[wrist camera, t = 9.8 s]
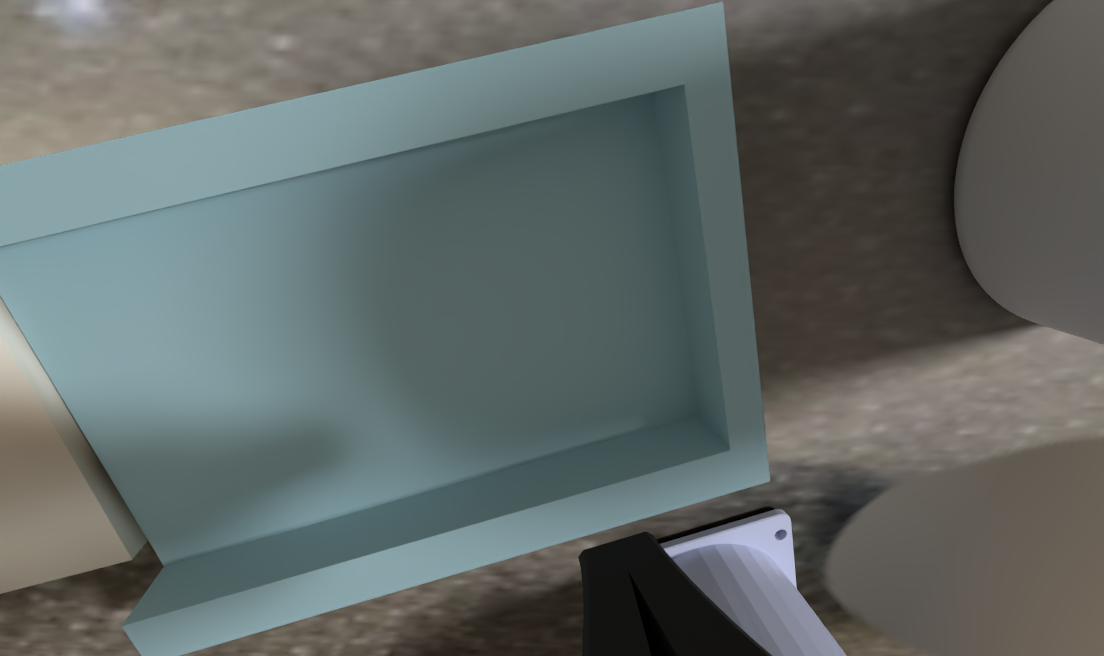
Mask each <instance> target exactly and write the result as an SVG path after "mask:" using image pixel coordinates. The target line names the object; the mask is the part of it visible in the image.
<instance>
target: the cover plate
mask: <svg viewBox="0 0 1104 656" xmlns="http://www.w3.org/2000/svg"><path fill="white" fill-rule="evenodd" d="M147 541H148V539H147V538H146V536H145V534H144V533H143V531H142V529H141V528H140V526H139V524H138V523H137V521H136V519H135V518H134V516H133V514H132V513H131V511H130V509H129V508H128V506H127V504H126V503H125V501H124V499H123V498H122V496H121V494H120V493H119V491H118V490H117V488H116V486H115V485H114V483H113V481H112V480H111V478H110V476H109V475H108V473H107V471H106V470H105V468H104V466H103V465H102V463H101V461H100V460H99V458H98V456H97V455H96V453H95V451H94V450H93V448H92V446H91V445H90V443H89V441H88V440H87V438H86V437H85V435H84V433H83V432H82V430H81V428H80V427H79V425H78V423H77V422H76V420H75V418H74V417H73V415H72V413H71V412H70V410H69V408H68V407H67V405H66V403H65V402H64V400H63V398H62V397H61V395H60V393H59V392H58V390H57V388H56V387H55V385H54V384H53V382H52V380H51V379H50V377H49V375H48V374H47V372H46V370H45V369H44V367H43V365H42V364H41V362H40V360H39V359H38V357H37V355H36V354H35V352H34V350H33V349H32V347H31V345H30V344H29V342H28V340H27V339H26V337H25V335H24V334H23V332H22V331H21V329H20V327H19V326H18V324H17V322H16V321H15V319H14V317H13V316H12V314H11V312H10V311H9V309H8V307H7V306H6V304H5V302H4V301H3V299H2V297H1V296H0V594H2V593H5V592H9V591H13V590H17V589H21V588H25V587H29V586H33V585H37V584H41V583H44V582H48V581H52V580H56V579H60V578H64V577H68V576H72V575H76V574H79V573H83V572H87V571H91V570H95V569H99V568H103V567H107V566H111V565H115V564H118V563H122V562H126V561H130V560H133V559H134V557H135V556H136V555H137V554H138V552H139V551H140V550H141V549H142V547H143V546H144V545H145V544H146V542H147Z"/></svg>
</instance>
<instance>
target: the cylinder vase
mask: <svg viewBox="0 0 1104 656" xmlns="http://www.w3.org/2000/svg"><path fill="white" fill-rule="evenodd" d="M954 213H955V223H956V230H957V235H958V239H959V243H960V247H961V250H962V253H963V255H964V258H965V260H966V262H967V265H968V267H969V269H970V270H971V272H972V274H973V276H974V277H975V279H976V280H977V282H978V283H979V284H980V286H981V287H982V288H983V289H984V291H985V292H986V293H987V294H988V295H989V296H990V297H991V298H992V299H993V300H995V301H996V302H997V303H998V304H999V305H1001V306H1002V307H1004V308H1005V309H1007V310H1008V311H1010V312H1011V313H1013V314H1015V315H1017V316H1019V317H1021V318H1023V319H1026V320H1028V321H1031V322H1034V323H1037V324H1040V325H1043V326H1046V327H1050V328H1053V329H1056V330H1059V331H1062V332H1066V333H1069V334H1072V335H1075V336H1078V337H1082V338H1085V339H1088V340H1091V341H1094V342H1098V343H1101V344H1104V0H1053V1H1052V2H1051V3H1049V4H1048V5H1047V6H1046V7H1045V8H1044V9H1043V10H1042V11H1041V12H1040V13H1039V14H1038V15H1037V16H1036V17H1035V18H1034V19H1033V20H1032V21H1031V22H1030V23H1029V25H1028V26H1027V27H1026V28H1025V29H1024V30H1023V31H1022V33H1021V34H1020V35H1019V36H1018V37H1017V39H1016V40H1015V41H1014V42H1013V44H1012V45H1011V46H1010V48H1009V49H1008V50H1007V52H1006V53H1005V55H1004V56H1003V57H1002V59H1001V60H1000V62H999V63H998V65H997V67H996V68H995V70H994V71H993V73H992V75H991V76H990V78H989V80H988V82H987V84H986V85H985V87H984V89H983V91H982V93H981V95H980V97H979V99H978V101H977V104H976V106H975V108H974V110H973V113H972V115H971V118H970V121H969V123H968V126H967V129H966V132H965V135H964V138H963V142H962V146H961V150H960V154H959V158H958V164H957V169H956V177H955V187H954Z"/></svg>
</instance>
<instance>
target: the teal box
mask: <svg viewBox="0 0 1104 656" xmlns="http://www.w3.org/2000/svg"><path fill="white" fill-rule="evenodd" d="M0 296H1V297H2V299H3V301H4V302H5V304H6V306H7V307H8V309H9V311H10V312H11V314H12V316H13V317H14V319H15V321H16V322H17V324H18V326H19V327H20V329H21V331H22V332H23V334H24V335H25V337H26V339H27V340H28V342H29V344H30V345H31V347H32V349H33V350H34V352H35V354H36V355H37V357H38V359H39V360H40V362H41V364H42V365H43V367H44V369H45V370H46V372H47V374H48V375H49V377H50V379H51V380H52V382H53V384H54V385H55V387H56V388H57V390H58V392H59V393H60V395H61V397H62V398H63V400H64V402H65V403H66V405H67V407H68V408H69V410H70V412H71V413H72V415H73V417H74V418H75V420H76V422H77V423H78V425H79V427H80V428H81V430H82V432H83V433H84V435H85V437H86V438H87V440H88V441H89V443H90V445H91V446H92V448H93V450H94V451H95V453H96V455H97V456H98V458H99V460H100V461H101V463H102V465H103V466H104V468H105V470H106V471H107V473H108V475H109V476H110V478H111V480H112V481H113V483H114V485H115V486H116V488H117V490H118V491H119V493H120V494H121V496H122V498H123V499H124V501H125V503H126V504H127V506H128V508H129V509H130V511H131V513H132V514H133V516H134V518H135V519H136V521H137V523H138V524H139V526H140V528H141V529H142V531H143V533H144V534H145V536H146V538H147V539H148V541H149V543H150V544H151V546H152V547H153V549H154V551H155V552H156V554H157V556H158V557H159V559H160V561H161V562H162V564H163V566H164V567H163V568H162V570H161V571H160V573H159V574H158V576H157V577H156V578H155V580H154V581H153V583H152V584H151V585H150V587H149V588H148V590H147V591H146V592H145V594H144V595H143V597H142V598H141V600H140V601H139V602H138V604H137V605H136V607H135V608H134V609H133V611H132V612H131V614H130V615H129V616H128V618H127V619H126V621H125V622H124V624H123V625H122V628H123V629H124V631H125V632H126V634H127V635H128V637H129V638H130V640H131V641H132V643H133V644H134V646H135V647H136V649H137V650H138V652H139V653H140V654H141V656H180V655H183V654H186V653H190V652H193V651H197V650H200V649H203V648H207V647H210V646H213V645H217V644H220V643H224V642H227V641H230V640H234V639H237V638H241V637H244V636H247V635H251V634H254V633H258V632H261V631H264V630H268V629H271V628H274V627H278V626H281V625H285V624H288V623H291V622H295V621H298V620H302V619H305V618H308V617H312V616H315V615H318V614H322V613H325V612H329V611H332V610H335V609H339V608H342V607H346V606H349V605H352V604H356V603H359V602H363V601H366V600H369V599H373V598H376V597H379V596H383V595H386V594H390V593H393V592H396V591H400V590H403V589H407V588H410V587H413V586H417V585H420V584H424V583H427V582H430V581H434V580H437V579H440V578H444V577H447V576H451V575H454V574H457V573H461V572H464V571H468V570H471V569H474V568H478V567H481V566H485V565H488V564H491V563H495V562H498V561H501V560H505V559H508V558H512V557H515V556H518V555H522V554H525V553H529V552H532V551H535V550H539V549H542V548H545V547H549V546H552V545H556V544H559V543H562V542H566V541H569V540H573V539H576V538H579V537H583V536H586V535H590V534H593V533H596V532H600V531H603V530H606V529H610V528H613V527H617V526H620V525H623V524H627V523H630V522H634V521H637V520H640V519H644V518H647V517H651V516H654V515H657V514H661V513H664V512H667V511H671V510H674V509H678V508H681V507H684V506H688V505H691V504H695V503H698V502H701V501H705V500H708V499H712V498H715V497H718V496H722V495H725V494H728V493H732V492H735V491H739V490H742V489H745V488H749V487H752V486H756V485H759V484H762V483H766V482H769V481H770V475H769V465H768V454H767V444H766V434H765V424H764V414H763V403H762V393H761V383H760V373H759V363H758V353H757V342H756V332H755V322H754V312H753V302H752V291H751V281H750V271H749V261H748V251H747V240H746V230H745V220H744V210H743V200H742V190H741V179H740V169H739V159H738V149H737V139H736V128H735V118H734V108H733V98H732V88H731V78H730V67H729V57H728V47H727V37H726V27H725V16H724V6H723V2H719V3H715V4H710V5H706V6H702V7H697V8H693V9H688V10H684V11H680V12H675V13H671V14H666V15H662V16H657V17H653V18H649V19H644V20H640V21H635V22H631V23H627V24H622V25H618V26H613V27H609V28H605V29H600V30H596V31H591V32H587V33H582V34H578V35H574V36H569V37H565V38H560V39H556V40H552V41H547V42H543V43H538V44H534V45H530V46H525V47H521V48H516V49H512V50H507V51H503V52H499V53H494V54H490V55H485V56H481V57H477V58H472V59H468V60H463V61H459V62H455V63H450V64H446V65H441V66H437V67H432V68H428V69H424V70H419V71H415V72H410V73H406V74H402V75H397V76H393V77H388V78H384V79H380V80H375V81H371V82H366V83H362V84H357V85H353V86H349V87H344V88H340V89H335V90H331V91H327V92H322V93H318V94H313V95H309V96H305V97H300V98H296V99H291V100H287V101H282V102H278V103H274V104H269V105H265V106H260V107H256V108H252V109H247V110H243V111H238V112H234V113H230V114H225V115H221V116H216V117H212V118H207V119H203V120H199V121H194V122H190V123H185V124H181V125H177V126H172V127H168V128H163V129H159V130H155V131H150V132H146V133H141V134H137V135H132V136H128V137H124V138H119V139H115V140H110V141H106V142H102V143H97V144H93V145H88V146H84V147H79V148H75V149H71V150H66V151H62V152H57V153H53V154H49V155H44V156H40V157H35V158H31V159H27V160H22V161H18V162H13V163H9V164H4V165H0Z"/></svg>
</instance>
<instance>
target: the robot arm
mask: <svg viewBox="0 0 1104 656" xmlns="http://www.w3.org/2000/svg"><path fill="white" fill-rule="evenodd" d="M779 530H780V531H779ZM777 531H779V532H778V533H776V532H777ZM775 533H776V534H775ZM579 561H580V566H581V572H582V580H583V596H584V627H583V652H582V656H846V654H845V653H844V652H843V650H842V649H841V648H840V646H839V645H838V644H837V642H836V641H835V640H834V638H833V637H832V636H831V634H830V633H829V632H828V630H827V629H826V628H825V626H824V625H823V624H822V622H821V621H820V620H819V618H818V617H817V616H816V614H815V613H814V612H813V610H812V609H811V608H810V606H809V605H808V604H807V602H806V601H805V600H804V598H803V597H802V596H801V594H800V593H799V592H798V590H797V588H796V576H795V564H794V552H793V540H792V529H791V520H790V517H789V516H788V515H787V514H786V513H785V512H784V511H783V510H780V509H775V510H771V511H768V512H765V513H761V514H758V515H755V516H751V517H748V518H745V519H741V520H738V521H735V522H731V523H728V524H725V525H721V526H718V527H715V528H711V529H708V530H705V531H701V532H698V533H695V534H691V535H688V536H685V537H681V538H678V539H675V540H671V541H668V542H665V543H661V544H659V543H658V541H657V540H656V539H655V537H654V536H653V535H652V534H650V533H648V532H643V533H640V534H636V535H633V536H629V537H626V538H623V539H619V540H616V541H613V542H609V543H606V544H603V545H599V546H596V547H593V548H589V549H586V550H583V551H582V553H581V554H580V556H579Z"/></svg>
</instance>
